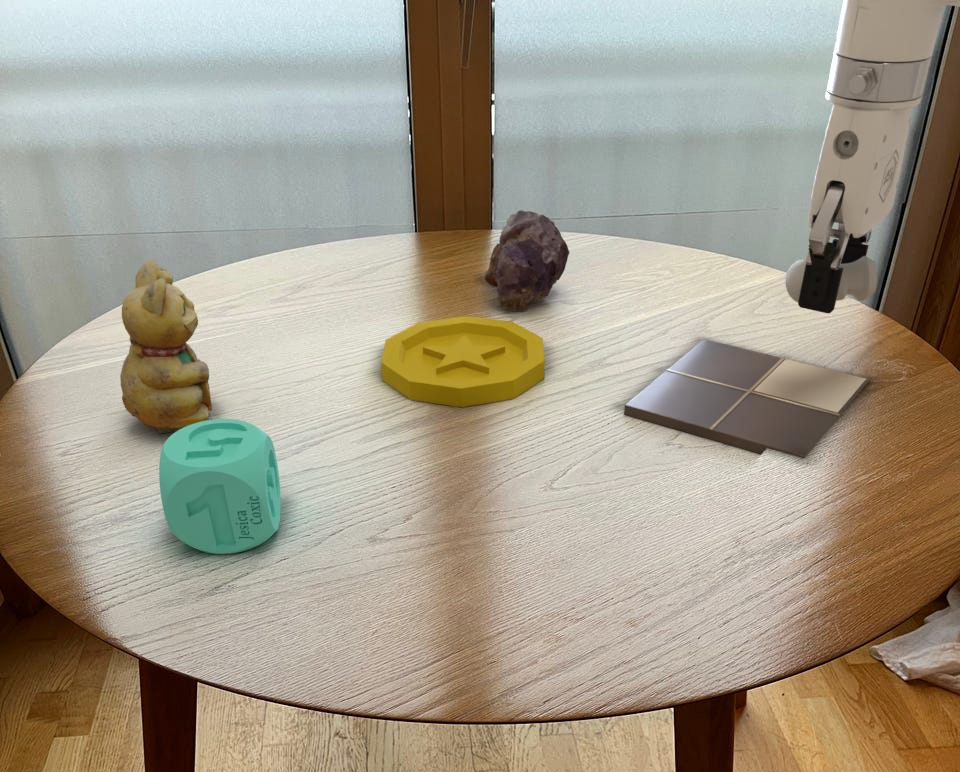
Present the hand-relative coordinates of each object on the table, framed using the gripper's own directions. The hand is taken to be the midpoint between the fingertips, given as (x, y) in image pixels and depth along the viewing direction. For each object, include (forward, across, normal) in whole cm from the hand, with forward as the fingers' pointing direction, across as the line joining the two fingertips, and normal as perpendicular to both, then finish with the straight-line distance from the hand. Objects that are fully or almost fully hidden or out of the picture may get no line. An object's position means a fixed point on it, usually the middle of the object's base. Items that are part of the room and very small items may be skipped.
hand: (828, 295), depth 92 cm
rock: (+10, +7, +37) cm, 39 cm away
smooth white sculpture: (+1, 0, 0) cm, 1 cm away
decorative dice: (+10, -48, +31) cm, 59 cm away
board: (+10, -4, +4) cm, 12 cm away
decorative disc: (+10, -13, +32) cm, 37 cm away
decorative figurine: (+11, -38, +49) cm, 64 cm away
